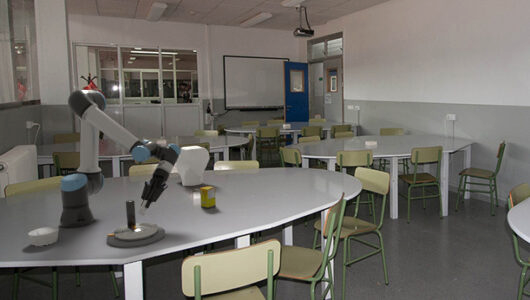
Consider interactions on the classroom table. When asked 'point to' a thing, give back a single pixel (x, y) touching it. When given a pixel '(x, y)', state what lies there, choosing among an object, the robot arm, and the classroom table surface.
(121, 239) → the dial
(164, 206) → the classroom table surface
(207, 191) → the supplement box
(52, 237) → the ramekin
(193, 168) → the white faceted lump
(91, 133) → the robot arm
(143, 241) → the base plate
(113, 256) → the classroom table surface
